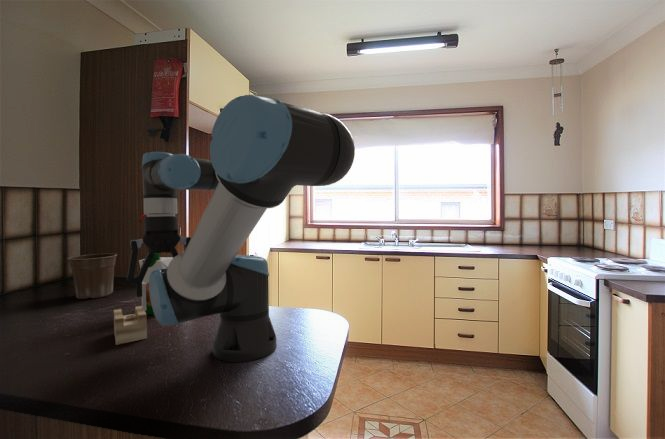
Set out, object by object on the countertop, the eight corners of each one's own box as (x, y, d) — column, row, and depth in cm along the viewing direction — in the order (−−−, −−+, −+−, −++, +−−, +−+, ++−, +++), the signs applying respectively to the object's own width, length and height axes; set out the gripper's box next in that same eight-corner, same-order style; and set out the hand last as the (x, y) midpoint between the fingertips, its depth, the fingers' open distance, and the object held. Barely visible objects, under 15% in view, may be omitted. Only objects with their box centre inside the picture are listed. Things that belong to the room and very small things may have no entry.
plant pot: (58, 299, 128) (57, 258, 128) (98, 289, 144) (97, 252, 143) (89, 302, 124) (88, 259, 123) (127, 292, 139) (126, 253, 139)
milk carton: (137, 315, 108) (135, 254, 108) (154, 306, 117) (153, 250, 117) (162, 315, 107) (160, 254, 107) (178, 307, 116) (176, 250, 116)
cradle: (147, 338, 88) (146, 314, 88) (115, 344, 84) (115, 319, 84) (143, 327, 97) (142, 305, 96) (114, 332, 93) (113, 310, 92)
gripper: (200, 214, 92) (203, 296, 92) (110, 216, 80) (113, 310, 80) (208, 214, 86) (210, 302, 86) (111, 216, 74) (115, 318, 74)
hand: (163, 306), depth 83 cm, fingers closed on potato, 8 cm apart
